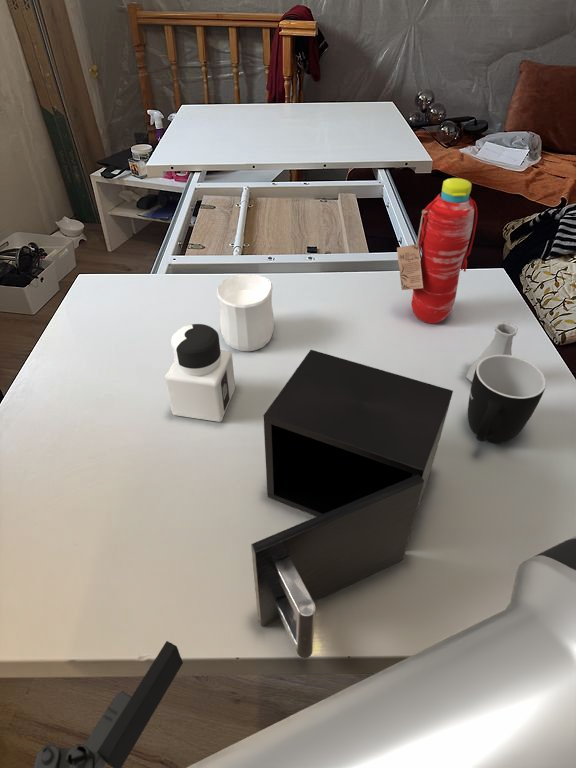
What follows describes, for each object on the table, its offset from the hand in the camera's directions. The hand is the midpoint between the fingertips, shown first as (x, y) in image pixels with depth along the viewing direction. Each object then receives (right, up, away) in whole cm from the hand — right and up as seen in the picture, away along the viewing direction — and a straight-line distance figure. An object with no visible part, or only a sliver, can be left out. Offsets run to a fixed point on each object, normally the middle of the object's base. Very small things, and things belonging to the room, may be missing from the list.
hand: (270, 702), depth 32 cm
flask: (+34, +20, +54) cm, 66 cm away
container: (-12, +16, +50) cm, 54 cm away
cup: (-6, +27, +63) cm, 69 cm away
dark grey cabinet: (+9, +6, +38) cm, 40 cm away
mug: (+30, +12, +45) cm, 55 cm away
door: (+7, -5, +25) cm, 27 cm away
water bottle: (+26, +32, +67) cm, 79 cm away
